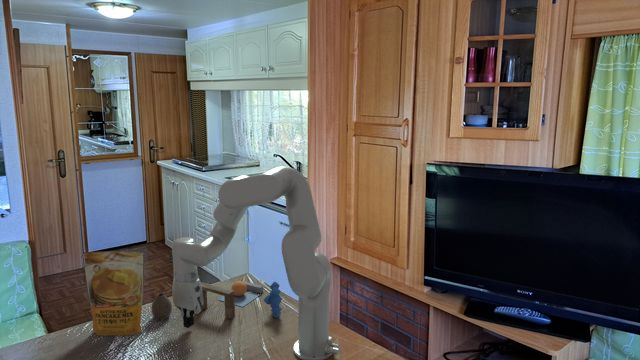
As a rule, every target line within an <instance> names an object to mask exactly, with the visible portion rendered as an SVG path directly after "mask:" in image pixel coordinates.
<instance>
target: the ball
mask: <svg viewBox="0 0 640 360" xmlns="http://www.w3.org/2000/svg"><path fill="white" fill-rule="evenodd" d="M242 281H243V280H242ZM242 281H241V280H237V281H234V282H233V283H232V285H231V288H230V290H233V291H234V295H235V296H238V297H239V296H243V295H244V294H245V293H246V291H248V290H247V286H246V284H245V283H244V282H242Z"/></svg>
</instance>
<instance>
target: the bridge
mask: <svg viewBox="0 0 640 360" xmlns="http://www.w3.org/2000/svg"><path fill="white" fill-rule="evenodd" d="M200 282H201V281H200ZM201 286H202V292H203V301H204V304H203V306H200V308H201V312H202V311H203V310H206V309H207V308H208V292H210V293H212V294H217V295H220V296H222V297H223V296H224V297H225V302H224V318H225V319H227V320H231V319H232V318H234V317H235V316H236V311H235V310H236V305H235V300H234V291H233V290H231V288H226V287H221V286H219V285H218V286H217V285H215V284H211V283H207V282H203V281H202V282H201Z"/></svg>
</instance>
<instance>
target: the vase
mask: <svg viewBox="0 0 640 360" xmlns="http://www.w3.org/2000/svg"><path fill="white" fill-rule="evenodd" d="M150 308H151V314H152V316H153V317H154V318H155V320H158V321H162V320H167V318H169V317H170V316H171V313H172V312H173V311H172V310H173V305H172V302H171V300H170V299H169V298H168V297H167V296H166V294H165V293H163V292H162V293H161V292H160V293H157V295H156V297H155V299H154V300H153V301H152V304H151V307H150Z"/></svg>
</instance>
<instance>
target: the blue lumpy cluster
mask: <svg viewBox="0 0 640 360" xmlns="http://www.w3.org/2000/svg"><path fill="white" fill-rule="evenodd" d="M279 287H280V284H279V283H278V282H277V281H273V282H272V283H271V285H270V286H269V288H270V289H271V290H270V292H269V294H267V295H265V297H264V298H263V302H264V303H265V304H266V305H269V306H270V308H271V309H270V311H271V315H272V316H273V317H274V318H279V317H280V315H281V314H282V307H280V304H281V303H282V300H283V298H282V296H281V295H280V293H281V290H280V288H279Z"/></svg>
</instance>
